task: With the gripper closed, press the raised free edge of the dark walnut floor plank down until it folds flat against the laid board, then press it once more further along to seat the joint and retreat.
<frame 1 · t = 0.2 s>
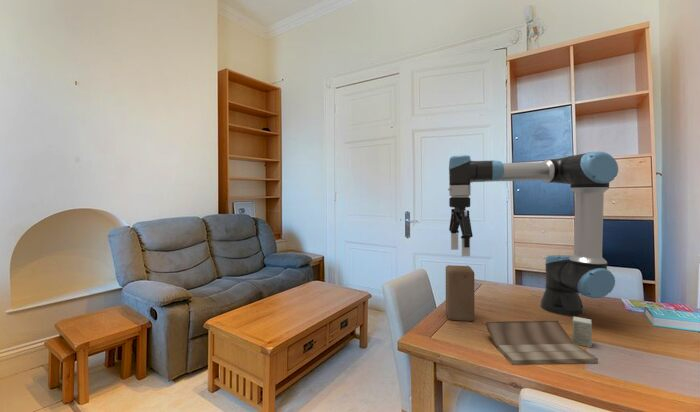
hand: (459, 252, 118), 28 cm above the table, fingers open, 13 cm apart
plank: (528, 333, 104), point 3 cm above the table, hinge at 28.0°
wooden block: (459, 316, 126), on the table
laid board: (545, 355, 95), on the table
small box: (582, 343, 103), on the table
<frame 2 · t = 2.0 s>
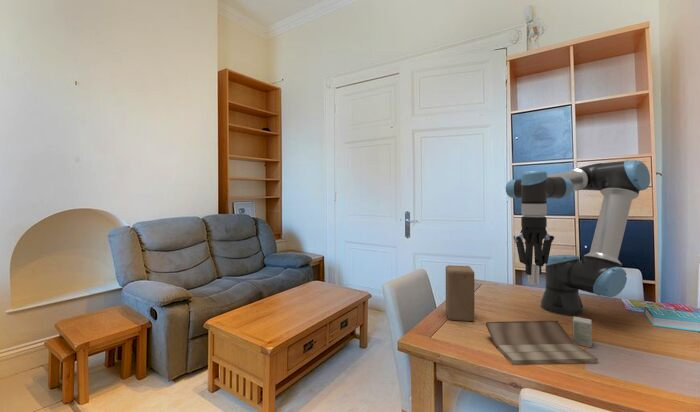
hand: (533, 283, 107), 18 cm above the table, fingers closed
nothing on the table moved.
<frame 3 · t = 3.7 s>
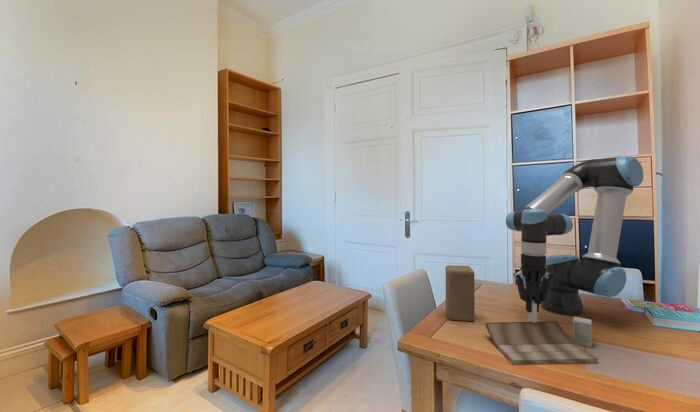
hand: (532, 320, 108), 5 cm above the table, fingers closed
plank: (527, 333, 104), point 3 cm above the table, hinge at 25.1°, touching gripper
everything else where it was.
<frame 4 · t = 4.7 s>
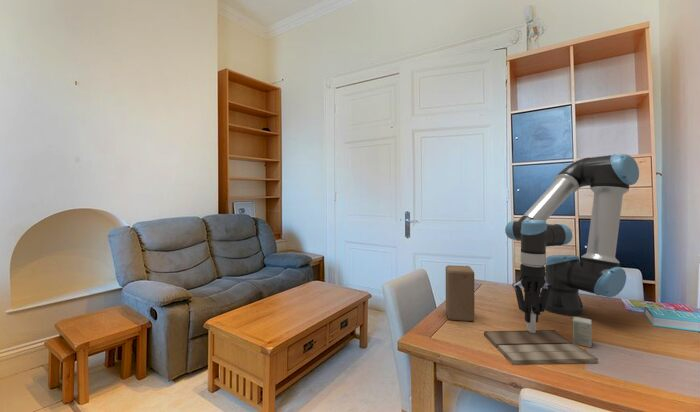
hand: (531, 331, 108), 2 cm above the table, fingers closed
plank: (526, 338, 105), point 1 cm above the table, hinge at -0.4°, touching gripper
everything else where it was.
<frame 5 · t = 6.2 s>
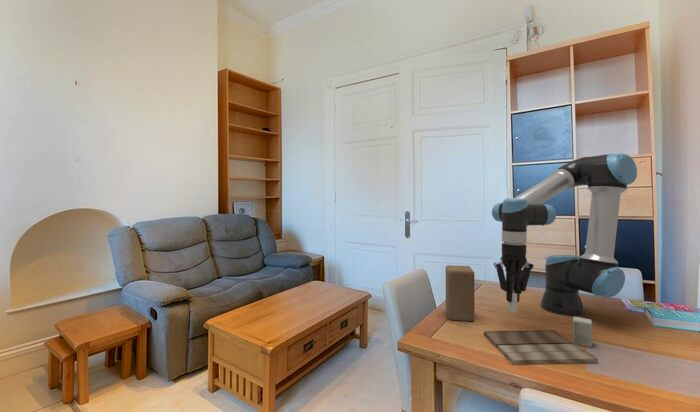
hand: (512, 311, 107), 9 cm above the table, fingers closed
plank: (526, 338, 105), point 1 cm above the table, hinge at -0.4°
everything else where it was.
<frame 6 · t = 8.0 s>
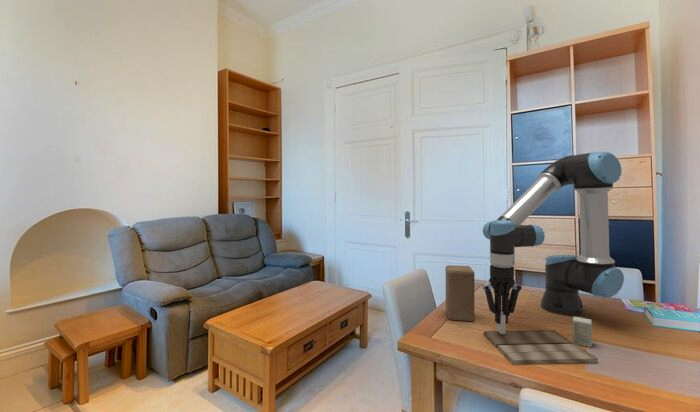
hand: (501, 332, 108), 2 cm above the table, fingers closed
plank: (526, 338, 105), point 1 cm above the table, hinge at -0.4°, touching gripper
everything else where it was.
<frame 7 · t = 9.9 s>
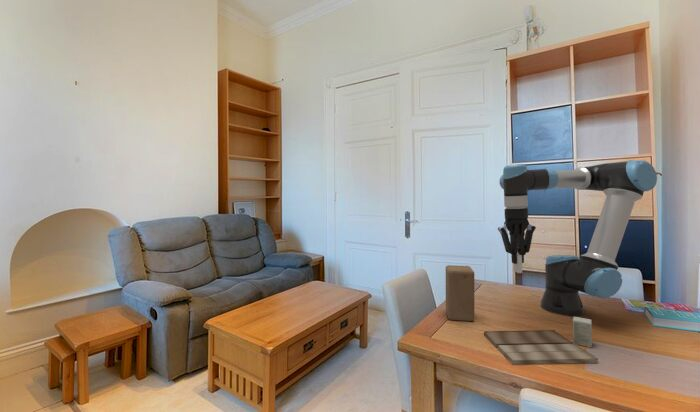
hand: (518, 272, 113), 21 cm above the table, fingers closed
plank: (526, 338, 105), point 1 cm above the table, hinge at -0.4°
everything else where it was.
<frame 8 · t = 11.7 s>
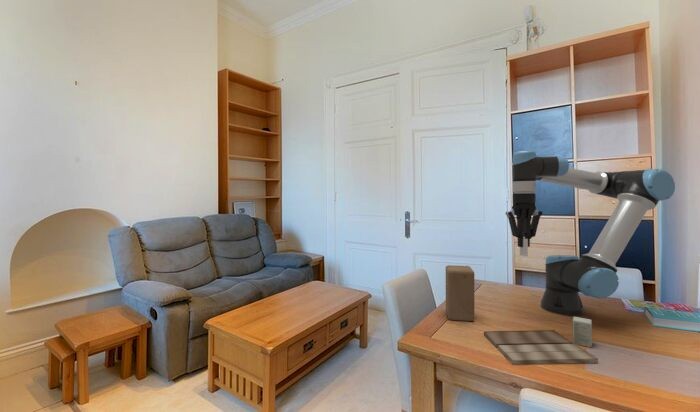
hand: (523, 255, 117), 26 cm above the table, fingers closed
nothing on the table moved.
at the end: plank at +0° (first picture: +28°) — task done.
